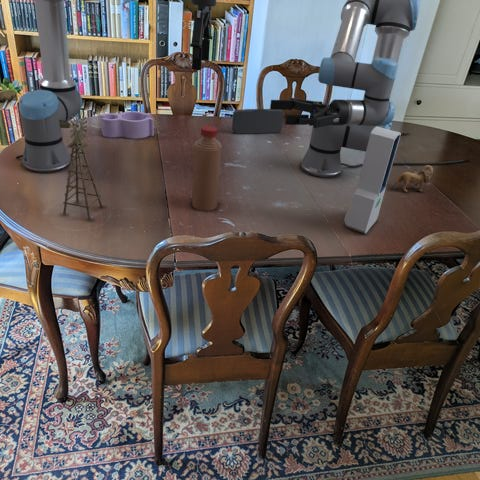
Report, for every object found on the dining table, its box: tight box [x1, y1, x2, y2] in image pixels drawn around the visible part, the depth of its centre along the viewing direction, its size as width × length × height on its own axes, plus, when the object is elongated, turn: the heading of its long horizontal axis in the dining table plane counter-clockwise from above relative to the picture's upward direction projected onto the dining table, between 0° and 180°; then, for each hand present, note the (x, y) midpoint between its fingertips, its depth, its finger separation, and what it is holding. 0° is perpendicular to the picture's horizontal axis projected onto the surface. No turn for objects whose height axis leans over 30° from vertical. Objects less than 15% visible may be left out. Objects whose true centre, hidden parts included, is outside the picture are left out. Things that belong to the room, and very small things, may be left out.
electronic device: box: [343, 127, 402, 235], centre depth 137 cm, size 12×8×30 cm, turn 148°
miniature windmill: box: [59, 109, 104, 220], centre depth 128 cm, size 9×8×30 cm
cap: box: [200, 125, 218, 138], centre depth 133 cm, size 4×4×2 cm
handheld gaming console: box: [231, 108, 285, 135], centre depth 202 cm, size 23×3×10 cm, turn 108°
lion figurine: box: [392, 165, 434, 193], centre depth 167 cm, size 15×5×9 cm, turn 110°
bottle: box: [191, 135, 223, 212], centre depth 139 cm, size 8×8×24 cm
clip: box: [100, 110, 155, 140], centre depth 188 cm, size 20×12×7 cm, turn 109°
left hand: (200, 65), depth 149 cm, fingers open, 13 cm apart
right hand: (278, 111), depth 135 cm, fingers open, 13 cm apart
